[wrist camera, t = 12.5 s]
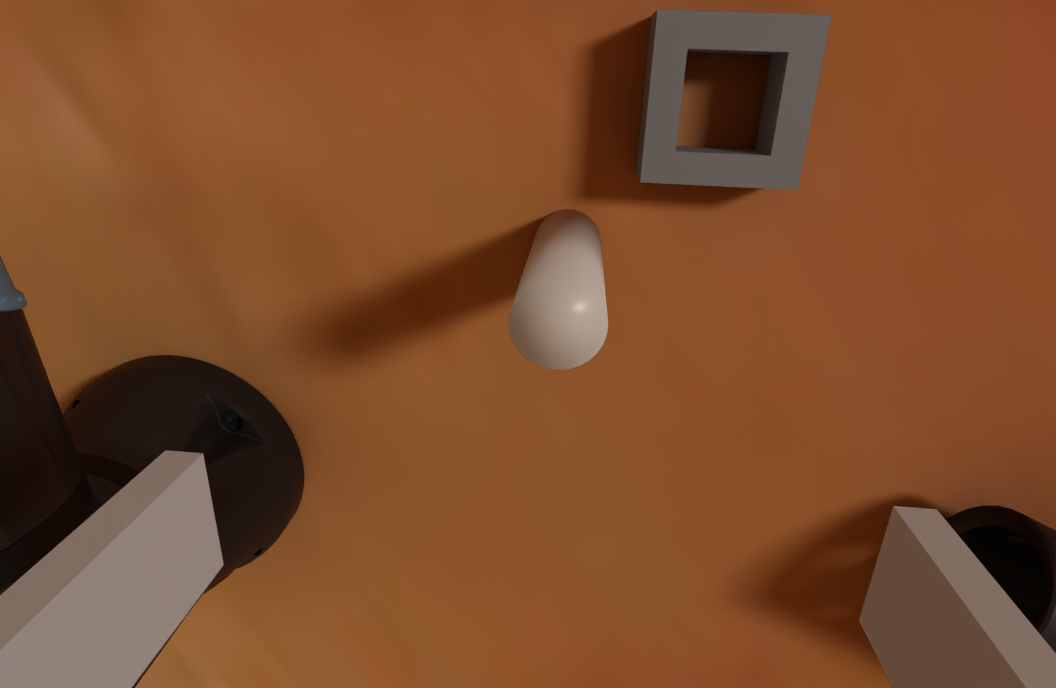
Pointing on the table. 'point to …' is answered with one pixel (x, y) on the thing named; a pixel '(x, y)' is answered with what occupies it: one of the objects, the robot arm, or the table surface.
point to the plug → (561, 294)
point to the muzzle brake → (1015, 559)
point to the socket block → (784, 104)
